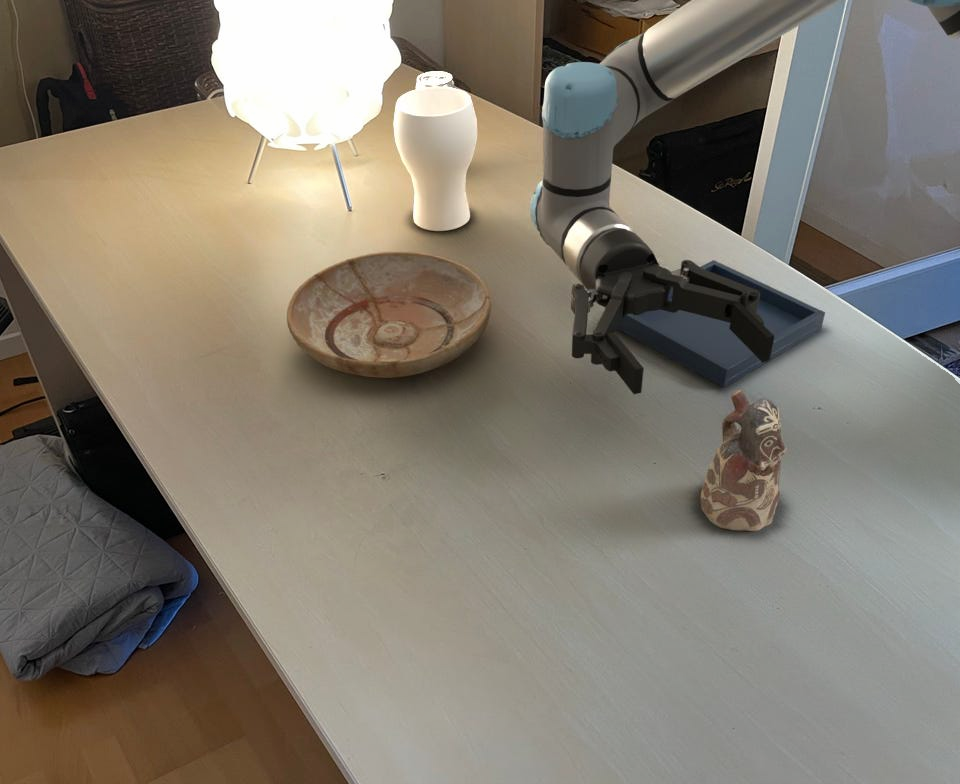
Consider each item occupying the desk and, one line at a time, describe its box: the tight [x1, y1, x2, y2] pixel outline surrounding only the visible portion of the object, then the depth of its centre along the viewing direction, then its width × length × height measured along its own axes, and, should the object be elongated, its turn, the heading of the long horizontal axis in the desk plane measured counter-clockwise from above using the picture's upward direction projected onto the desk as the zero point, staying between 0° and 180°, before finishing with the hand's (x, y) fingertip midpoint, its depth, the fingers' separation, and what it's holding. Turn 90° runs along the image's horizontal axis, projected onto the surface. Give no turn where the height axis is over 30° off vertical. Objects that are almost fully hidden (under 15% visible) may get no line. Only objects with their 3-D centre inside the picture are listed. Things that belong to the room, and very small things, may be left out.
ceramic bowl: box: [286, 250, 492, 379], centre depth 114 cm, size 23×24×5 cm
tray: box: [617, 259, 826, 389], centre depth 114 cm, size 17×17×2 cm
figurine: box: [700, 389, 787, 532], centre depth 90 cm, size 7×7×12 cm
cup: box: [393, 87, 478, 232], centre depth 130 cm, size 11×11×15 cm
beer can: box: [415, 70, 455, 90], centre depth 142 cm, size 5×5×12 cm
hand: (704, 365), depth 93 cm, fingers open, 13 cm apart
